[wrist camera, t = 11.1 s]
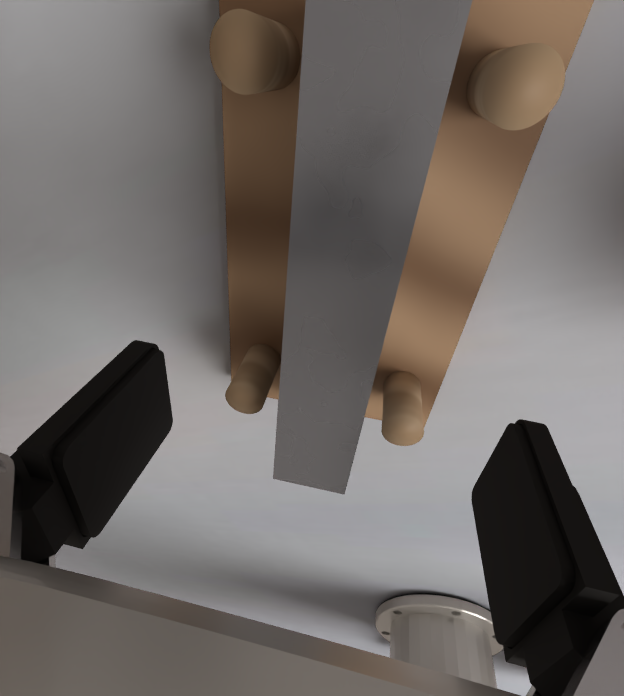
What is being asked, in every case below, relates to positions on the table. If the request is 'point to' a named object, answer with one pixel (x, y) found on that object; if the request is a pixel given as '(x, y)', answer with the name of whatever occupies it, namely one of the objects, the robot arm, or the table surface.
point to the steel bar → (354, 211)
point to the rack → (436, 202)
